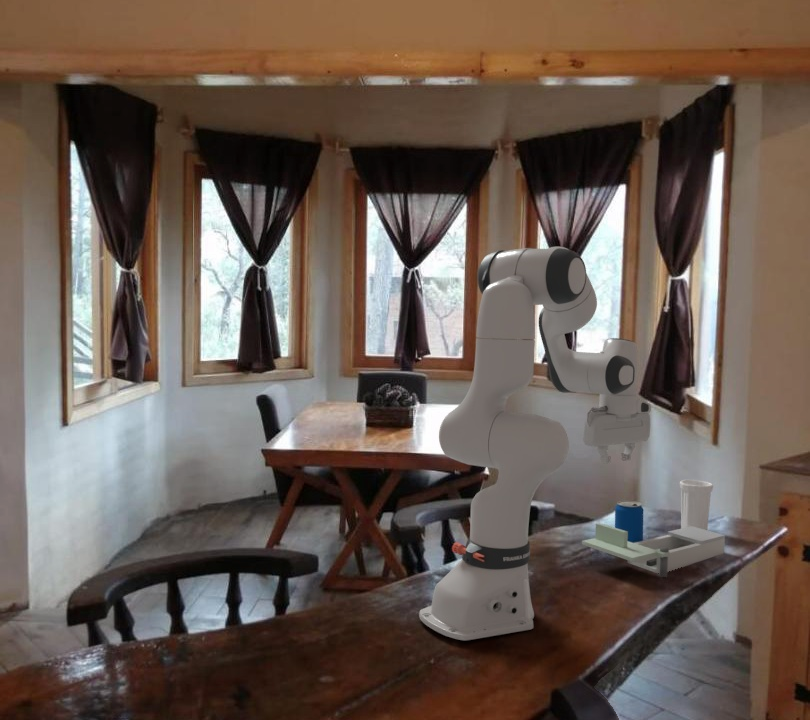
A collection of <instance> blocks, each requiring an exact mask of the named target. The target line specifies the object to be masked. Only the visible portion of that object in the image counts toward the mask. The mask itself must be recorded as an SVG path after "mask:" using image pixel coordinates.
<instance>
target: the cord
mask: <svg viewBox="0 0 810 720" xmlns="http://www.w3.org/2000/svg"><path fill="white" fill-rule="evenodd" d="M646 565H647V566H654V565H657V558H656V559H652V560H648V561H647V563H646Z"/></svg>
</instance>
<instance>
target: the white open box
mask: <svg viewBox="0 0 810 720" xmlns="http://www.w3.org/2000/svg"><path fill="white" fill-rule="evenodd" d="M725 543H726V534H722V533H718V532H714V531H711V530H708V529H707V530H704V529H700V528H697V527H693V526H690V527H686V528H681V527H680V528H679V529H674V530H673V529H672V530H669V531H667V534H666V535H661V536H657V537H652V538H648V539H645V540H644V539H643V541H640V542H635V544H638V545H641V546H645V547H648V548H651V549H654V550H657V549H660V547H666V548H669V552H670V556H666V557H659V556H653V557H649V558H645V559H641V560H637V561H634V562H632V561H629V560H627V563H628V564H630V565H633V566H635V567H639V568H642V569H643V570H647V571H650V572H652V573H655V574H658V573H659V574H658V576H659V577H660V578H663V577H666V578H668V573H669V571H670V572H672V570H673V571H675V569H676V570H679V569H681V567H682V568H684V567H687V566H690V565H693V564H696V563H699V562H702V561H705V560H707V559H708V560H709V559H711V558H714V557H717V556H720V555H723V554H725V546H726V545H725ZM656 558H657V565H654V566H647V565H646V563H647V561H648V560H652V559H656ZM678 568H679V569H678Z"/></svg>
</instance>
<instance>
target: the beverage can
mask: <svg viewBox="0 0 810 720" xmlns="http://www.w3.org/2000/svg"><path fill="white" fill-rule="evenodd" d="M614 507H615V508H614V528H617V529H621V530H624V531H627V532H628V540H627V541H629V542H632V543H635V542H640V541H644V508H643V504H642V503H641V502H639V501H635V500H634V501H633V500H618V501H617V502H616V505H615V506H614Z"/></svg>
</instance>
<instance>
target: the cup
mask: <svg viewBox="0 0 810 720" xmlns="http://www.w3.org/2000/svg"><path fill="white" fill-rule="evenodd" d="M679 487H680V499H681V500H680V509H681V510H680V511H681V512H680V517H681V518H680V522H681V523H680V529H681V528H686V527H690V526H693V527H697V528H700V529H704V530H708V527H709V516H710V506H711V505H710V504H711V496H712V495H711V494H712V492H713V489H714V485H713V483H711V482H709V481H705V480H699V479H683V480H681V481H679Z"/></svg>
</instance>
